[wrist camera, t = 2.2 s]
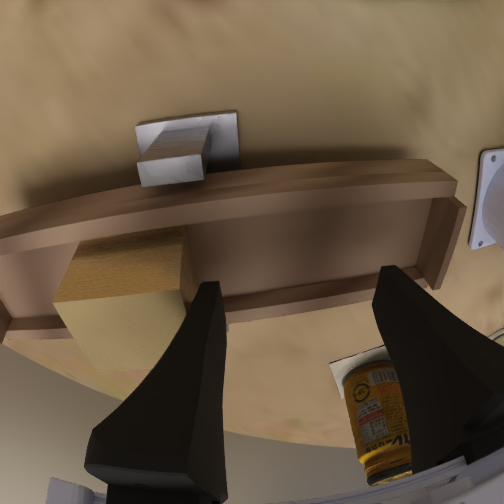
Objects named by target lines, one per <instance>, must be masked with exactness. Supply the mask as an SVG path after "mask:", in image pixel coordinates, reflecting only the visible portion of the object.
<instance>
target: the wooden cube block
mask: <svg viewBox="0 0 504 504" xmlns="http://www.w3.org/2000/svg"><path fill="white" fill-rule="evenodd" d="M197 291H198V286H197V281H196V277H195V272H194V268H193V263H192V259H191V254H190V249H189V244H188V240H187V235H186V230H185V225H178V226H171V227H165V228H158V229H151V230H144V231H138V232H131V233H125V234H119V235H112V236H106V237H100V238H94V239H88V240H82V241H80V243H79V245H78V247H77V249H76V251H75V253H74V255H73V257H72V260H71V262H70V264H69V266H68V268H67V270H66V273H65V275H64V277H63V279H62V281H61V284H60V286H59V288H58V291H57V293H56V295H55V298H54V300H53V305H54V307H55V308H56V310H57V312H58V313H59V315H60V317H61V318H62V320H63V322H64V323H65V325H66V327H67V328H68V330H69V331H70V333H71V335H72V336H73V338H74V339H75V341H76V342H77V344H78V345H79V347H80V348H81V350H82V351H83V353H84V354H85V356H86V357H87V358H88V360H89V361H90V363H91V364H92V366H93V367H94V368H95V370H96V371H97V372H105V371H129V370H147V369H153V367H154V366H155V365H156V363H157V362H158V361H159V359H160V358H161V356H162V355H163V353H164V352H165V350H166V349H167V347H168V346H169V344H170V343H171V341H172V339H173V338H174V336H175V334H176V333H177V331H178V329H179V328H180V326H181V324H182V322H183V320H184V318H185V316H186V314H187V312H188V310H189V308H190V306H191V304H192V302H193V300H194V298H195V295H196V293H197Z"/></svg>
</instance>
